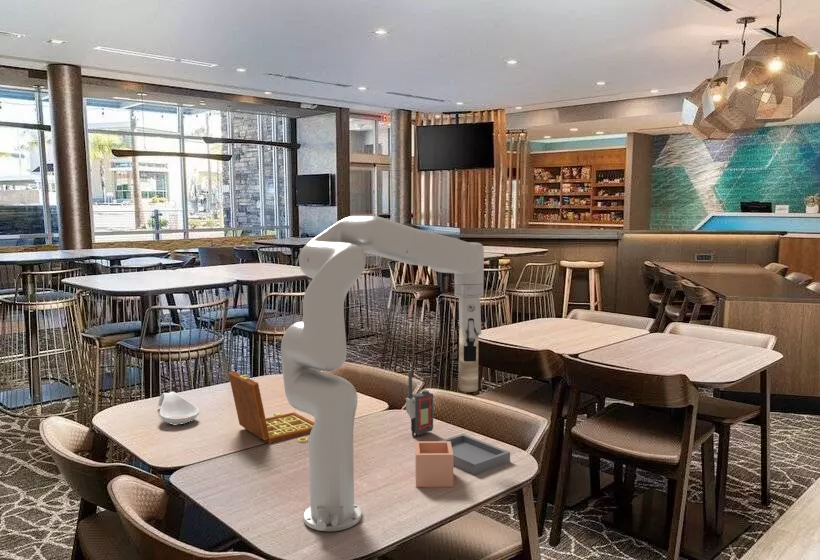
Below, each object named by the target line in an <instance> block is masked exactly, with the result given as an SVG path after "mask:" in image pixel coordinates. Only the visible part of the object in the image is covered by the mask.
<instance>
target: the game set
mask: <svg viewBox="0 0 820 560" xmlns="http://www.w3.org/2000/svg"><path fill="white" fill-rule="evenodd" d="M228 377H229V381H230V382H229V383H230V388H231V393H232V396H233V400H234V405H235V410H236V414H237V418H238V423H239V425H240V426H241V427H243V428H244V429H246V430H247V431H249V432H250V433H252V434H254V435H255V436H257V437H259V438H260V439H262V440H263V441H265V442H266V443H268V444H273V443H278V442H281V441H285V440H288V439H293V438H296V437H299V438H297V442H298V443H300V444H303V443H307V442H309V437H306V436H304V435H308V434H309V435H310V432H311V430H312V427H313V425H314V422H315V421H312V420H310V419H308V418H306V417H305V416H303V415H301V414H298V413H297V412H295V411H293V412H290V413H283V414H282V412H278V413H273V416H271V417H266V414H265V409H264V404H263V399H262V396H261V395H262V394H261V389H260V386H259V382H257V381H255V380H253V379H251V378H249V374H248V373H247V374H243V375H242V374H241V373H239V372H237V371H234V370H233V371H230V372H228ZM269 423H271V424H269ZM301 436H304V437H301Z"/></svg>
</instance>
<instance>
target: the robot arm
mask: <svg viewBox="0 0 820 560" xmlns="http://www.w3.org/2000/svg"><path fill="white" fill-rule="evenodd" d="M484 249H485V248H484V245H483V244H482V243H480V242H472V241H471V242H468V241H465V240H461V239H460V238H456V237H451V236H447V235H443V234H438V233H436V232H435V233H434V232H431V231H427V230H424V229H419V228H415V227H411V226H409V225H406V224H403V223H400V222H396V221H394V220H392V219H391V220H390V219H389V218H384V217H381V216H376V215H349V216H347V217H344V218H342V219H341V220H338V221H337V222H336V223H334V224H333V225H331V226H330V227H328V228H327V229H325V230H323V231H322V232H321V233H319V234H318V235H317V236H315V237H313V238H311V240H309V241H308V242H307V243H306V244H305V245H304V246H303V248H302V249H301V251H300V253H299V257H298V263H299V267H300V270H301V272H302V274H304V275H305V277H308V278H310V279H311V281H310V283H309V284H308V286H307V288H306V290H305V292H304V295H303V298H302V300H303V301H302V321H297V322H294V323H292V324H291V325H290V326H289V327H288V328H287V329H286V330H285V332H284V334H283V336H282V340H281V341H280V342H281V343H280V356H281V357H280V359H281V368H282V378H283V385H284V386H283V387H284V394H285V397H286V399H287V401H288V403H289V405H290V406H291V407H293V408H294V409H295V410H297V411H299V412H301V413H305V414H308V415H310V416H311V417H314V421H313V422H314V425H313V427H312V430H311V432H310V433H309V437H308V454H309V455H308V459H309V461H308V463H309V499H310V500H309V501H310V506H309V507H308V508H306V509H304V510H305V511H304V512H303V520H302V521H303V523H304V524H305V526H307V527H308V528H310V529H312V530H315V531H320V532H321V531H322V532H338V531H343V530H346V529H349V528H352V527H353V526H355V525H357V524H358V523H359V522H360V521H361V520H362V516H363V514H362V509H361V507H360V506H359V505H357V503H355V467H354V466H355V464H354V463H355V462H354V461H355V460H354V459H355V457H354V451H355V449H354V428H355V427H354V426H355V419H356V418H355V417H356V413H357V409H358V408H357V407H358V401H359V399H358V392H357V390H356V387H355V386H354V385H353V384H352V383H351V381H348V380H347V379H346V378H343V377H341V376H338V375H334V374H331V373H328V372H334V371H338V370H339V369H341V368H342V366H343V365H344V364H345V362H346V359H347V352H348V351H347V337H346V335H347V334H346V325H345V324H346V323H345V300H346V297H347V294H348V293H349V291H350V289H351V288H352V286H353V285H354V284H355V282H356V281H357V280H359V278H360V277H361V275H362V274H363V273H364V271H365V267H366V261H367V260H366V259H367V258H366V254H368V255H369V254H370V255H374V256H377V257H381V258H383V259H384V258H385V259H389V260H392V261H396V262H399V263H403V264H408V265H413V266H418V267H419V266H422V267H429V268H430V269H431V270H433V271H434V272H438V273H444V274H454V296H455V297H458V321H459V329H461V331H462V334H464V336H465V346H464V361H465V362H469V361H476V335H475V330H476V333H478V336H480V335H481V334H482V320H481V319H482V316H481V315H482V312H481V311H482V309H481V307H482V306H481V297H484V286H485V285H484V280H485V279H484V272H485V270H484V267H485V266H484V264H485V262H484V261H485V259H484V258H485V257H484V256H485V250H484ZM466 329H467V330H466ZM466 332H469V334H466ZM467 337H468V338H467Z"/></svg>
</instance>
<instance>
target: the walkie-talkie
mask: <svg viewBox="0 0 820 560" xmlns="http://www.w3.org/2000/svg"><path fill="white" fill-rule="evenodd" d="M405 403H406V404H405V411H406V413H407V414H408V415H409V418H410V431H411V436H412V437H413V438H417V437H418V435H421V434H425V433H429V432H433V430H434V394H433V393H432V392H430V390H427V389H423V390H421V392H414V394H413V372H412V371H408V394H407V397H405Z"/></svg>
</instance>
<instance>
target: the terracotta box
mask: <svg viewBox="0 0 820 560" xmlns="http://www.w3.org/2000/svg"><path fill="white" fill-rule="evenodd" d="M414 473H415V475H414V477H415V488H447V487H448V488H450V487H452V488H453V487H454V466H453V450H452V446H451V441H441V440H438V441H436V440H435V441H434V440H433V441H431V440H430V441H427V440H425V441H422V440H421V441H414Z"/></svg>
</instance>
